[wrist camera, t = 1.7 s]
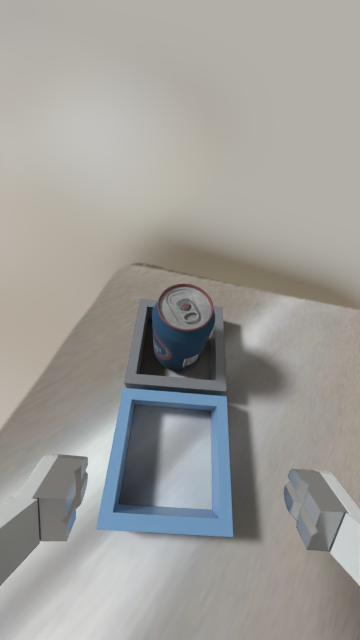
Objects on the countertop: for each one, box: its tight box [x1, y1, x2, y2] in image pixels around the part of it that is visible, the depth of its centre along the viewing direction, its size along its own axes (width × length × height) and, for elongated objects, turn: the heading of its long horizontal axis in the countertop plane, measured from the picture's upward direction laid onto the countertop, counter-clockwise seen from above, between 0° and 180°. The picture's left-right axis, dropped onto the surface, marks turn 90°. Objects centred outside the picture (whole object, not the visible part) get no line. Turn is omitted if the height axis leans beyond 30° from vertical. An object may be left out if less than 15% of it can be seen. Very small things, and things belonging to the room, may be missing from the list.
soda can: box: [152, 284, 215, 371], centre depth 27 cm, size 7×7×12 cm
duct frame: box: [96, 299, 233, 537], centre depth 28 cm, size 12×25×4 cm, turn 176°
